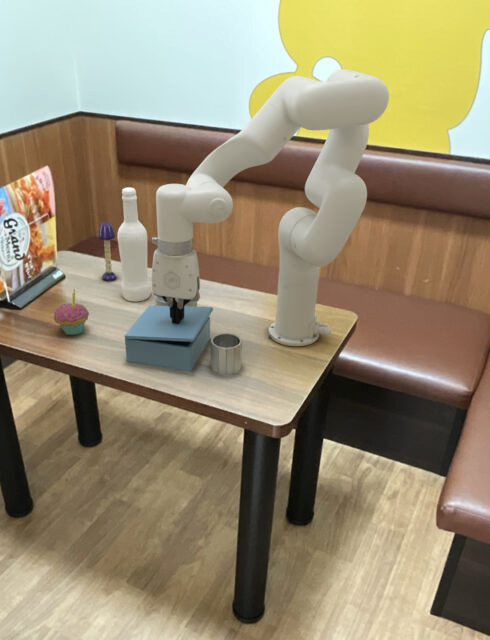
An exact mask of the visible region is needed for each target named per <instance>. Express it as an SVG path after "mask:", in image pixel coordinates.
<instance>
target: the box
mask: <svg viewBox="0 0 490 640" xmlns="http://www.w3.org/2000/svg"><path fill="white" fill-rule="evenodd" d="M209 341H211V317H210V316H209V317H208V319H207V320H206V322H205V324H204V325H203V327H202V328H201V330H200V332H199V333H198V335H197V336H196V338H195V340H194V341H193V342H189V341H167V340H146V339H125V338H124V345H125V355H126V362H128V363H134V364H139V365H145V366H146V365H147V366H152V367H159V368H165V369H171V370H176V371H183V372H190V373H191V372H192V371H193V369H194V367H195V365H196V363H197V362H198V360H199V359H200V357H201V355H202V353H203V352H204V350H205V348H206V347H207V345H208V343H209Z"/></svg>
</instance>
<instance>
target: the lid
mask: <svg viewBox="0 0 490 640" xmlns="http://www.w3.org/2000/svg"><path fill="white" fill-rule="evenodd" d="M213 311H214V307H212V306H197V307H188V306H184V319H183V320H181V322H180V323H179V324H176V323H172V318H170V307H168V306H156V305H148V306H147V308H145V310H144V311H143V312H142V313H141V315H140V316H139V317H138V318H137V320H136V321H134V323H133V324H132V326H131V327H130V328H129V329H128V331H127V332H126V333H125V334H124V340H125V339H146V340H167V341H189V342H193V341H194V340H195V338H196V336H197V335H198V333H199V332H200V330H201V328H202V327H203V325H204V324H205V322H206V320H207V319H208V317H210V315H211V314H212V312H213Z"/></svg>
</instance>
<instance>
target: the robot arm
mask: <svg viewBox="0 0 490 640" xmlns="http://www.w3.org/2000/svg"><path fill="white" fill-rule="evenodd" d="M389 100H390V92H389V89H388V87H387V85H386V83H385V82H384V80H382V79H380V78H379V77H377V76H374V75H372V74H367V73H363V72H360V71H357V70H353V69H347V68H344V69H338V70H334V71H333V72H331V74H330V75H329V76H328V77H327V79H326V80H325V81H321V80H320V81H319V80H316V79H313V78H309V77H307V76H302V75H293V76H289V77H288V78H286V79H285V80H284V81H282V82H281V84H280V85H278V86H277V88H276V89H275V90H274V91H273V93H272V94H271V95H270V96H269V97H268V98H267V100H266V101H265V102H264V103H263V105H262V106H261V108H259V109H258V111H257V112H256V113H255V114H254V116H252V118H251V119H250V120H249V121H248V122H247V124H246V125H245V126H244V127H243V128H242V129H241V130H240V131H239V132H238V133H236V134H235V135H233V136H232V137H230V138H229V139H228V140H226V141H225V142H224V143H222V144H220V145H219V146H218V147H216V148H215V149H213V151H212V152H210V153H209V154H208V155H207V156H206V157H205V158H204V159H203V161H202V162H201V163H200V164H199V165H198V166H197V168H196V169H195V170H194V171H193V172H192V174H191V175H190V177H189V178H188V180H187V182H186V184H181V183H167V184H164V185H160V186H159V187H158V188H157V190H156V193H155V205H156V207H155V209H156V229H157V230H156V231H157V233H156V234H157V236H152V238H151V243H152V244H155V245H156V249H155V250H154V252H153V255H152V265H151V266H152V267H151V292H152V294H153V295H154V297H155V296H158V297H160V298H163V299H164V300H165V302H166V303H167V305H168V307H170V318H172V323H176V324H179V323H180V322H181V320H183V319H184V306H185V305H186V304H187V303H188V302H196V301H197V302H199V300H200V299H201V295H200V288H201V276H200V275H201V274H200V266H199V259H198V255H197V250H196V249H194V223H199V224H200V223H201V224H219V223H222V222H224V221H226V220H227V219H228V218H230V216H231V215H232V212H233V209H234V202H233V197H232V196H231V194H230V193H229V191H227V190H226V189H225V188H224V187H225V186H226V185H227V184H228V183H229V182H230V181H231V180H232V179H233V178H234V177H235V176H236V175H238V174H239V173H240V172H243V171H244V170H247V169H249V168H253V167H259V166H262V165H265V164H269V163H271V162H272V161H273V160H274V159H275V157H277V156H278V154H279V153H280V152H281V151H282V149H283V148H284V147H285V146H286V145H287V144H288V143H289V141H290V140H291V139H292V138H293V137H294V136H295V134H297V132H299V130H300V129H301V128H303V129H305V130H308V131H328V133H327V136H326V137H327V138H326V140H325V142H324V144H323V146H322V149H321V151H320V153H319V154H318V157H317V159H316V161H315V162H314V165H313V167H312V169H311V171H310V172H309V174H308V177H307V179H306V181H305V184H304V193H305V196H306V198H307V200H308V201H309V202H311V204H313V205H314V206H316V207H317V208H318V212H316V211H314V210H312V209H311V208H307V207H304V206H303V207H301V206H300V207H299V206H298V207H293V208H291V209H289V210H287V211H286V212H285V214H284V215H282V218H281V219H280V222H279V225H278V230H277V231H278V233H277V238H278V251H279V254H278V255H279V264H278V265H279V267H278V277H277V278H278V279H277V280H278V281H277V294H276V307H275V308H276V309H275V321H274V322H272V323H270V325H269V327H268V334H269V337H270V338H271V339H272V341H274V342H275V343H278V344H280V345H284V346H288V347H305V346H309V345H312V344H313V343H315V342H316V341H318V339H319V337H320V335H324V336H332V329H333V327H329V323H326V322H319V321H318V320H317V319H318V316H317V315H316V307H317V299H318V290H319V282H320V274H321V273H320V272H321V268H323V267H325V266H327V265H329V264H331V263H333V261H335V259H337V257H338V256H339V255H340V253H341V252H342V250H343V249H344V247H345V245H346V244H347V242H348V240H349V238H350V236H351V234H352V232H353V231H354V229H355V227H356V225H357V223H358V222H359V219H360V218H361V216H362V214H363V212H364V210H365V208H366V203H367V199H368V188H367V186H366V183H365V181H364V180H363V178H361V177H360V176H359V175H358V174H356V171H357V169H358V166H359V165H360V163H361V160H362V158H363V156H364V154H365V151H366V149H367V146H368V142H369V138H370V137H369V136H370V124H371V123H374V122H376V121H377V120H378V119H379V118H381V116H382V115H383V114H384V113H385V112H386V109H387V107H388V105H389ZM176 298H178V302H177V301H176Z"/></svg>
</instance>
